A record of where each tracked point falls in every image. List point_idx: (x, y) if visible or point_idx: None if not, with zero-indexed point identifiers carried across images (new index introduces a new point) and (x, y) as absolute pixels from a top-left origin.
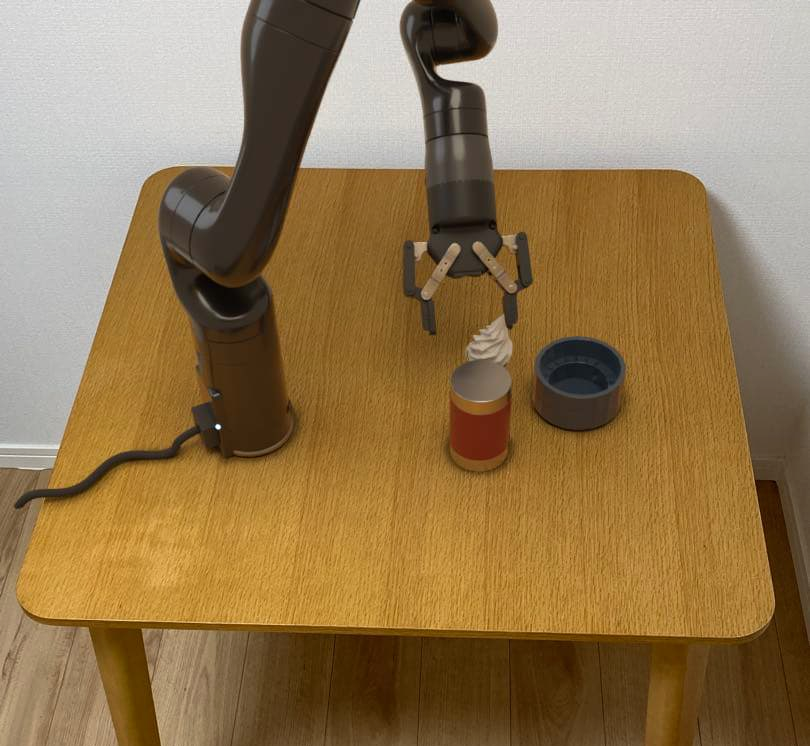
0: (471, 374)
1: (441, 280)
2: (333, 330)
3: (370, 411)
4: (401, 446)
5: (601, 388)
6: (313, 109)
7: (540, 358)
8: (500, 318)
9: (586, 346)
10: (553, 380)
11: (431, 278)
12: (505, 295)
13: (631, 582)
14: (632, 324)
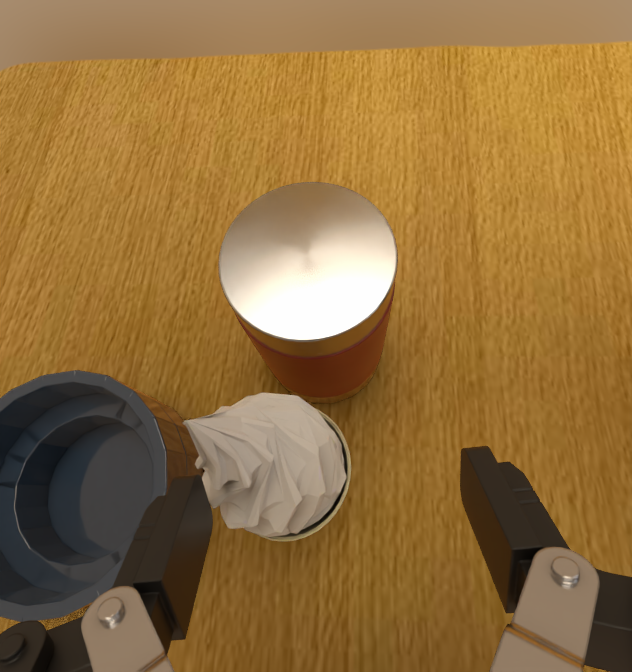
0: (333, 277)
1: (505, 630)
2: None
3: (564, 464)
4: (479, 360)
5: (49, 517)
6: None
7: None
8: (204, 422)
9: (18, 594)
10: None
11: (574, 659)
12: (157, 577)
13: (124, 115)
14: None
